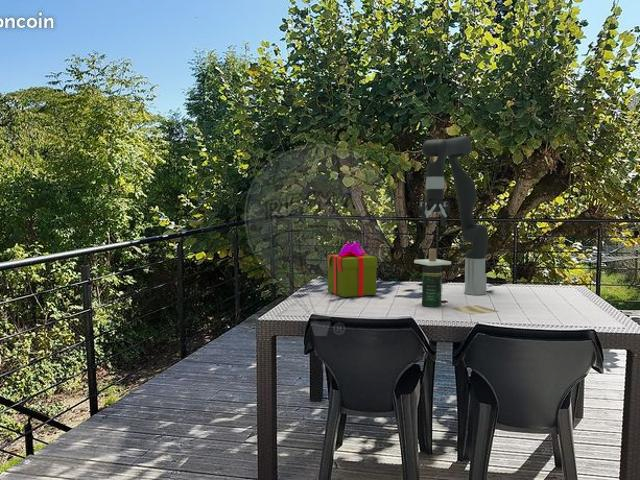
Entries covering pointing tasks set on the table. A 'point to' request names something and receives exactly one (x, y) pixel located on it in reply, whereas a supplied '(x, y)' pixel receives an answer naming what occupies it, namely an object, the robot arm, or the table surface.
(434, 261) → the peg stand
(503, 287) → the table surface
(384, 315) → the table surface
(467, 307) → the mat
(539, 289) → the table surface
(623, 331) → the table surface
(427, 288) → the coffee jar
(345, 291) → the gift box
